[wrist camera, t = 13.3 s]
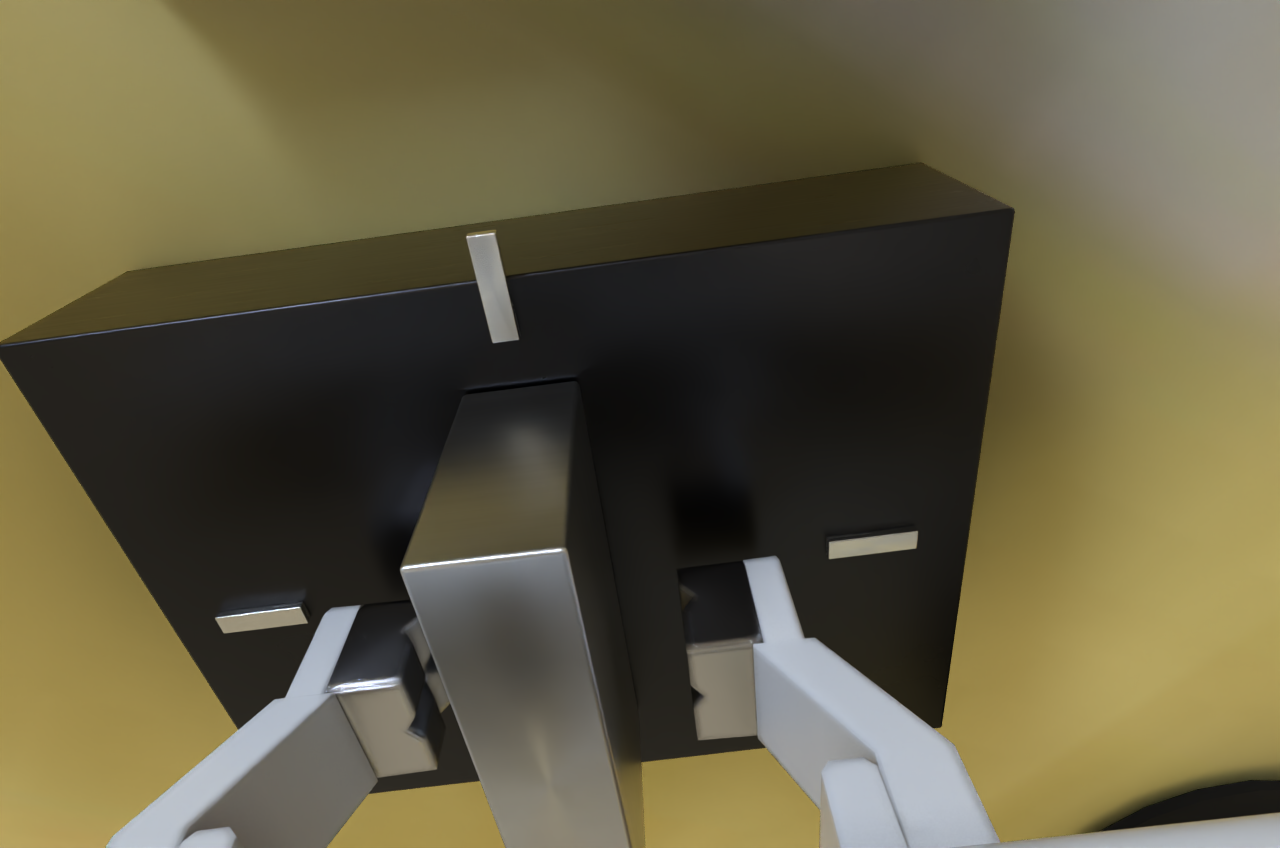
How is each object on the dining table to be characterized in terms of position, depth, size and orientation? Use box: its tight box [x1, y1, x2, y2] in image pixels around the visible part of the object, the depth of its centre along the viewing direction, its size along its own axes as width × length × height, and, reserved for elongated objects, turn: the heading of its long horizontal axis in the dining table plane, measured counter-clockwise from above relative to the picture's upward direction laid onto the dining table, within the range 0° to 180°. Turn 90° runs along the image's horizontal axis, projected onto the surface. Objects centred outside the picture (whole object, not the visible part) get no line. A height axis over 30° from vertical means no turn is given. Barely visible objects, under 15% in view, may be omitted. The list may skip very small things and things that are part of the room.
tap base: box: [0, 163, 1015, 794], centre depth 13 cm, size 13×11×3 cm
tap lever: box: [400, 381, 645, 848], centre depth 10 cm, size 7×2×4 cm, turn 7°
